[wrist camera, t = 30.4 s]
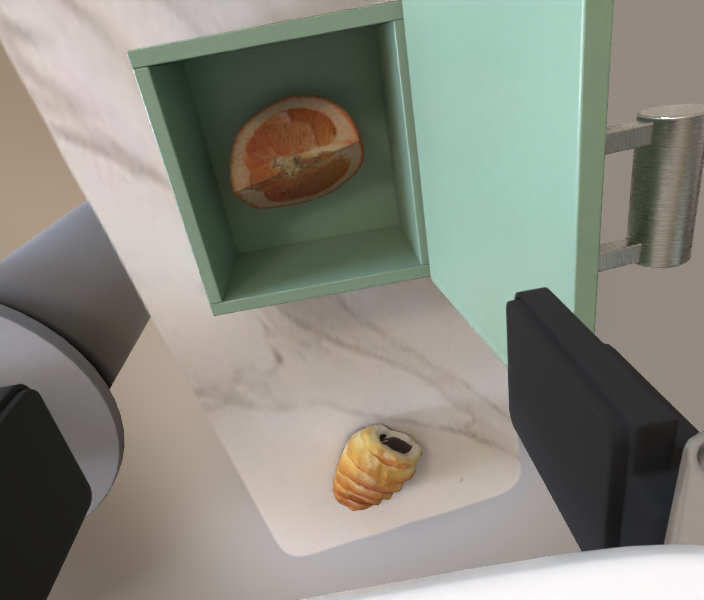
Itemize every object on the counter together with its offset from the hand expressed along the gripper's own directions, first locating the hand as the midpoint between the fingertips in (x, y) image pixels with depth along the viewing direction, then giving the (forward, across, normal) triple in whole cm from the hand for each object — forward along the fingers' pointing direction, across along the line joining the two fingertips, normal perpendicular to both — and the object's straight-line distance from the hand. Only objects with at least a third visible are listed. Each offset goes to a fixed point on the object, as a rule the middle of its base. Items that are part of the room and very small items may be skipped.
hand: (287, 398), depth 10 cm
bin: (+28, 0, 0) cm, 28 cm away
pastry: (+28, -1, +29) cm, 41 cm away
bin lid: (+12, -7, 0) cm, 14 cm away
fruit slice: (+28, 0, 0) cm, 28 cm away
